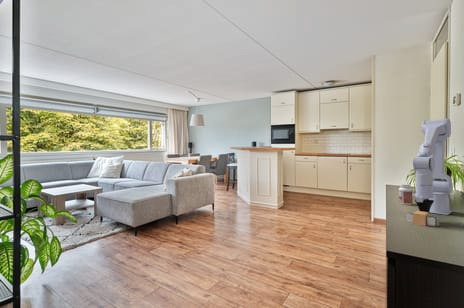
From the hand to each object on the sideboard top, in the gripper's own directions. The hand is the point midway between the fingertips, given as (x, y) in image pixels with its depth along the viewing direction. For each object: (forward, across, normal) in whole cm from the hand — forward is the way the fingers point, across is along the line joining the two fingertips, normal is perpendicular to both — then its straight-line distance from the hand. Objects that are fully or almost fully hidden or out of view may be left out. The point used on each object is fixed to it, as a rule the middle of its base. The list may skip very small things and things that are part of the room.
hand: (424, 216), depth 102 cm
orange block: (+2, +6, 0) cm, 6 cm away
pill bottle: (+2, -31, -16) cm, 35 cm away
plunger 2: (+2, +5, +3) cm, 6 cm away
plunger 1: (+2, +5, -3) cm, 6 cm away
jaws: (+2, +4, 0) cm, 4 cm away
